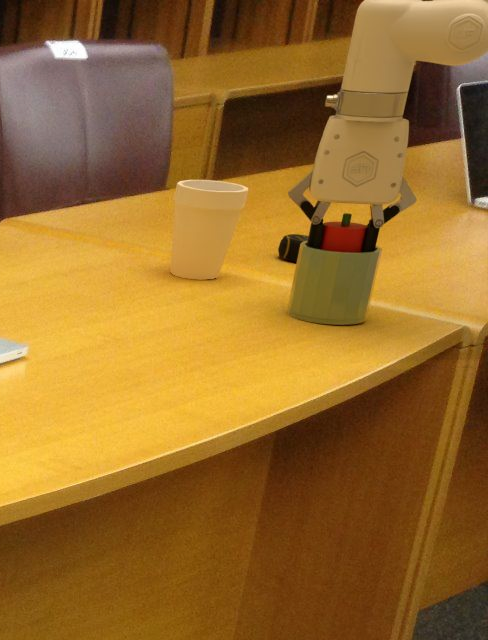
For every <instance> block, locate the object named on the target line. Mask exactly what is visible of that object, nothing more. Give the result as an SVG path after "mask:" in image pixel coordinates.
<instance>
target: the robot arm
mask: <svg viewBox="0 0 488 640" xmlns="http://www.w3.org/2000/svg"><path fill="white" fill-rule="evenodd" d="M487 53H488V0H363V1H361V2H360V4H359V6H358V8H357V10H356V13H355V18H354V23H353V28H352V33H351V37H350V43H349V48H348V53H347V57H346V62H345V67H344V72H343V77H342V82H341V86H340V89H339V91H338V92H337V93H334V94H326V97H325V102H324V107H330V108H332V109H334V110H335V115H330V116H329V117H328V119H327V122H326V124H325V126H324V130H323V132H322V136H321V139H320V142H319V145H318V148H317V152H316V155H315V158H314V163H313V165H312V166H313V167H312V169H311V170H310V171H309V172H308V173H307V174H306V175H304V177H302V178H301V179H300V180H299V181H298V182H297V183H296V184H295V185H294V186H292V187H291V188H290V189H289V190H288V192H287V195H288V197H289V199H290V200H291V201H292V202H294V204H295V205H296V206H297V207H298V208H300V210H301V211H302V212H303V213H304V215H305V216H306V217H307V218H308V220H309V221H310V227H309V232H308V235H307V236H308V241H307V246H308V247H311V248H315V249H320V245H321V241H322V236H323V231H324V225H323V223H324V216H326V213H327V211H328V210H329V208H330V206H331V204H332V203H333V204H350V205H351V204H354V205H369V211H370V219H369V220H368V223H367V224H365V225H366V226H367V231H366V236H365V240H364V245H363V249H362V252H372V251H375V247H376V246H377V243H378V237H379V233H380V229H381V228H382V227H383V226H384V225H385V224H387V223H388V222H390V220H392V219H393V218H395V217H397V215H399V214H400V213H402V212H403V211H405V210H407V209H408V208H410V207H411V206H414V205H415V204H416V203H417V201H418V199H417V197H416V195H415V194H414V192H413V190H412V188H411V187H410V185H409V184H408V182H407V181H406V179H405V178H404V170H405V165H406V159H407V151H408V145H409V134H410V132H409V131H410V121H409V120H408V119H406V118H404V116H403V115H404V112H405V107H406V103H407V100H408V99H407V98H408V94H409V89H410V85H411V81H412V77H413V73H414V72H413V71H414V67H415V63H416V61H418V62H426V63H433V64H438V65H444V66H450V67H451V66H453V67H455V66H456V67H458V66H463V65H467V64H470V63H473V62H475V61H477V60H478V59H480V58H482V57H483V56H484V55H486V54H487ZM307 190H309V193H310V195H311V197H312V198H313V199H314V200H316V203H315V205H313V203H311V202H310V200H309V199H308V198H307V197H305V195H304V193H305V191H307ZM399 194H400V198H399V199H398V197H399ZM389 204H390V205H389ZM383 205H388V206H387V207H385V208H384V206H383Z"/></svg>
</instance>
